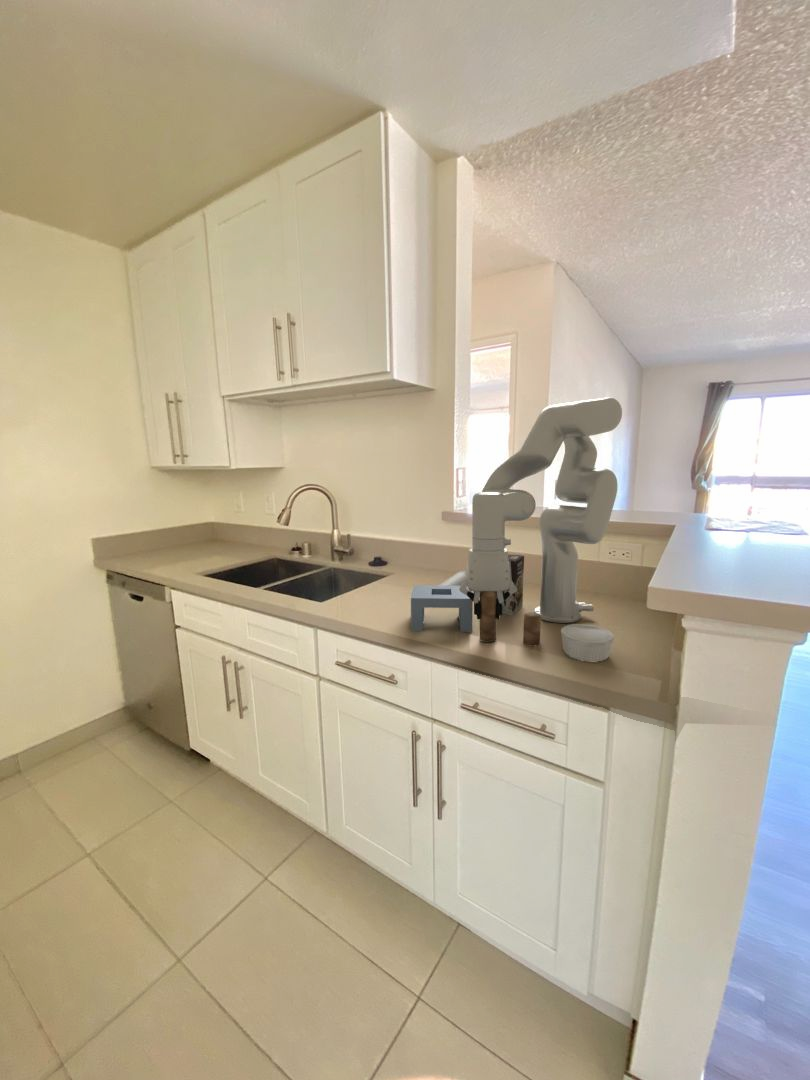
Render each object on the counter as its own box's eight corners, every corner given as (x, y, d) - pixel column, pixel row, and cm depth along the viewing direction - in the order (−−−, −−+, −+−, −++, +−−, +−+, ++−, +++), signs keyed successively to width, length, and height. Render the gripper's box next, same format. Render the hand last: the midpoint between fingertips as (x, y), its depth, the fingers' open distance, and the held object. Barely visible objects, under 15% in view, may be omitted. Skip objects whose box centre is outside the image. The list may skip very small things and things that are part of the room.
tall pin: (494, 635, 109) (495, 581, 107) (496, 642, 105) (497, 586, 103) (478, 635, 110) (479, 581, 107) (480, 641, 106) (480, 586, 103)
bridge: (469, 615, 125) (469, 585, 124) (472, 631, 113) (472, 598, 112) (414, 615, 126) (413, 585, 125) (411, 630, 115) (410, 598, 113)
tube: (443, 593, 134) (471, 574, 156) (428, 586, 136) (457, 568, 158) (438, 608, 136) (466, 587, 157) (424, 601, 138) (453, 581, 159)
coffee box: (513, 615, 125) (515, 561, 122) (492, 612, 128) (493, 558, 125) (523, 606, 132) (525, 555, 129) (503, 603, 135) (504, 553, 133)
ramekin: (601, 644, 105) (602, 623, 104) (621, 665, 94) (622, 642, 93) (554, 643, 105) (555, 623, 104) (568, 665, 94) (569, 642, 93)
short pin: (538, 639, 108) (539, 612, 107) (541, 645, 104) (542, 618, 103) (521, 638, 108) (522, 612, 107) (524, 645, 104) (525, 617, 103)
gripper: (521, 540, 106) (519, 612, 109) (452, 541, 107) (453, 612, 111) (527, 547, 99) (525, 623, 102) (453, 548, 100) (454, 623, 103)
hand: (487, 616), depth 106 cm, fingers closed on tall pin, 4 cm apart
